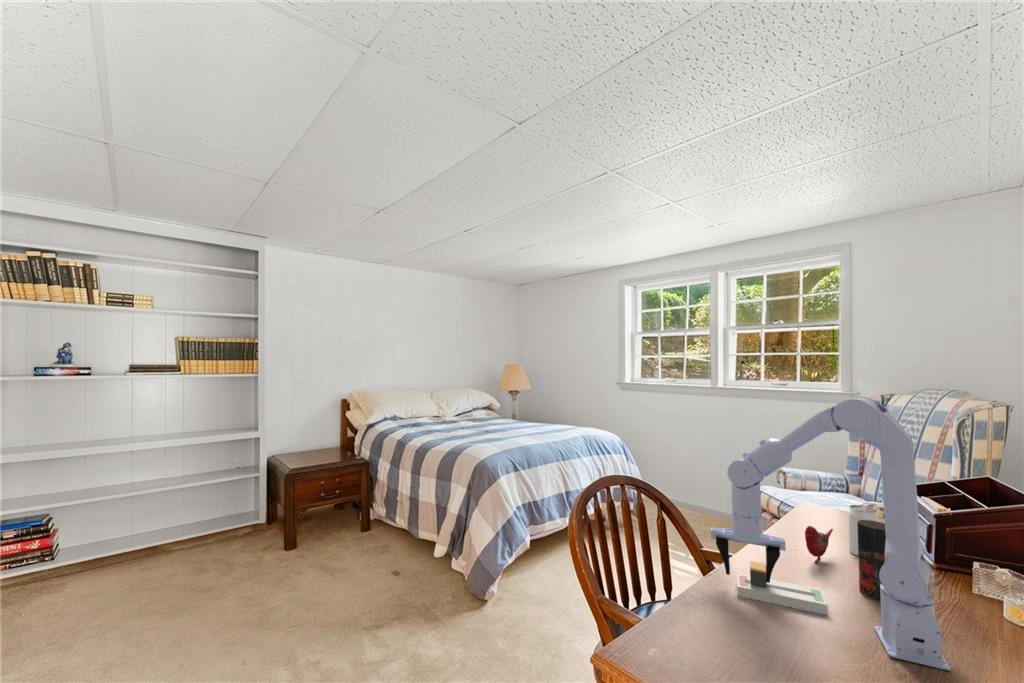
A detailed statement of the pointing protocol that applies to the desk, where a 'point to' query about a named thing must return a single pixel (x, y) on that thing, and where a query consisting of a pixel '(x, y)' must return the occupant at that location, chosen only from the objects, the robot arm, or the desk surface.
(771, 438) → the robot arm
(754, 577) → the handle
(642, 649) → the desk surface
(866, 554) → the deodorant
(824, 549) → the decorative bird figurine
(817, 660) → the desk surface
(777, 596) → the box
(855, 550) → the can
